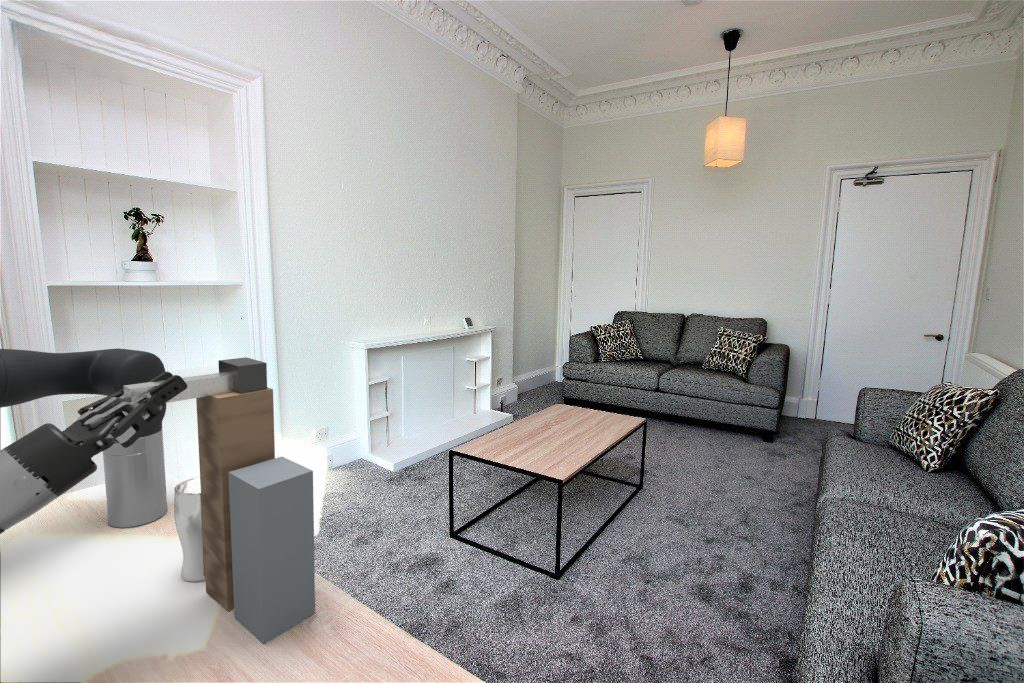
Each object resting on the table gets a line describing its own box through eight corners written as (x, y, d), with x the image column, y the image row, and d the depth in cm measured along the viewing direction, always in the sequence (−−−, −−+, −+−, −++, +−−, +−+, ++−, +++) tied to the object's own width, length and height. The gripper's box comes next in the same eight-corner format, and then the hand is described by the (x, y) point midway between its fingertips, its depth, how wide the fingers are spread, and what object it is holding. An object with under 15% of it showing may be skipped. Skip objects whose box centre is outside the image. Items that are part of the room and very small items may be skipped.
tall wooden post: (205, 592, 74) (195, 389, 70) (255, 568, 80) (249, 381, 76) (227, 611, 70) (218, 398, 66) (278, 585, 76) (273, 389, 72)
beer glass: (168, 575, 78) (163, 487, 76) (212, 553, 84) (208, 472, 82) (193, 589, 74) (188, 498, 72) (237, 566, 81) (233, 481, 78)
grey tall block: (234, 618, 69) (228, 472, 66) (285, 590, 75) (281, 456, 72) (263, 644, 64) (258, 489, 61) (315, 613, 71) (312, 470, 67)
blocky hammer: (119, 402, 62) (117, 371, 61) (246, 382, 75) (246, 357, 74) (137, 411, 59) (135, 379, 58) (267, 389, 72) (266, 362, 71)
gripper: (38, 479, 59) (173, 390, 70) (71, 516, 51) (218, 409, 62) (-12, 436, 55) (140, 349, 66) (16, 469, 48) (183, 363, 58)
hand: (177, 378), depth 64 cm, fingers closed on blocky hammer, 2 cm apart
